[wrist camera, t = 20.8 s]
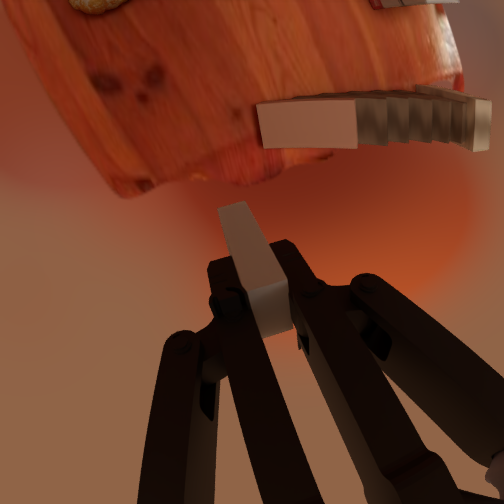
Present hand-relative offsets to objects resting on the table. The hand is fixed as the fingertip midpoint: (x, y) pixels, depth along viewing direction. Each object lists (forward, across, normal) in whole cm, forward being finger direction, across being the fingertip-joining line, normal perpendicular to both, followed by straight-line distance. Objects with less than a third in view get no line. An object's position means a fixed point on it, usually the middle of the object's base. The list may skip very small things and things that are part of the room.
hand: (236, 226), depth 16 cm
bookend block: (+24, +39, 0) cm, 46 cm away
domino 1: (+24, +8, 0) cm, 25 cm away
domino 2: (+24, +13, 0) cm, 27 cm away
